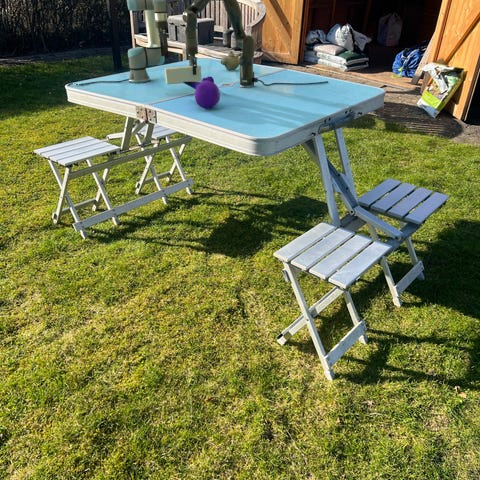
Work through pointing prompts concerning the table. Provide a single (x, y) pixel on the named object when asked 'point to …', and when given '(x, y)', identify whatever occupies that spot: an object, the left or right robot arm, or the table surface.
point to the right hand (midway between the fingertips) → (193, 73)
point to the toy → (205, 92)
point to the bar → (182, 75)
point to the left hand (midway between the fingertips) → (165, 57)
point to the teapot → (231, 61)
